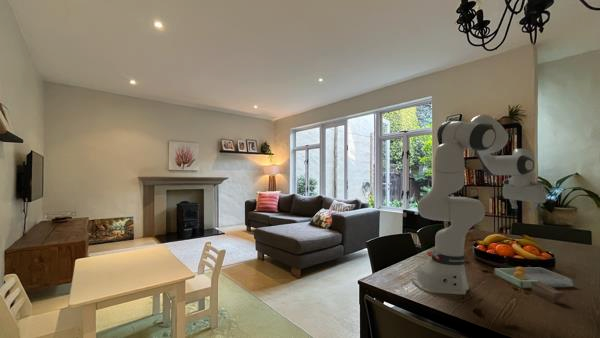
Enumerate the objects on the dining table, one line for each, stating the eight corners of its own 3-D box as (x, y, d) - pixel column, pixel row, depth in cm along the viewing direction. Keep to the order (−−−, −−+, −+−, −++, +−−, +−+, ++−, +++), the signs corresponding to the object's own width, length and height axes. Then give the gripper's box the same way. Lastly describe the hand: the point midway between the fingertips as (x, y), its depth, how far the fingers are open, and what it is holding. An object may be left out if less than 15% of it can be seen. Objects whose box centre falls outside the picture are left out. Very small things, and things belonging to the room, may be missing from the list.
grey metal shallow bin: (540, 287, 111) (540, 280, 111) (511, 274, 126) (511, 267, 126) (572, 286, 112) (572, 279, 112) (540, 273, 127) (540, 267, 127)
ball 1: (523, 278, 119) (515, 272, 120) (519, 275, 123) (511, 269, 124) (529, 272, 119) (521, 266, 120) (525, 269, 122) (517, 263, 124)
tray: (521, 288, 111) (521, 281, 111) (494, 274, 125) (494, 268, 125) (538, 287, 111) (538, 280, 111) (509, 274, 126) (509, 268, 126)
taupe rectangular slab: (554, 305, 98) (554, 293, 98) (531, 292, 108) (531, 281, 108) (563, 305, 98) (563, 293, 98) (540, 292, 107) (540, 281, 108)
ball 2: (511, 273, 121) (521, 271, 119) (516, 282, 118) (527, 280, 117) (511, 272, 118) (521, 269, 116) (516, 281, 116) (527, 278, 114)
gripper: (550, 182, 117) (550, 213, 117) (511, 180, 137) (511, 206, 137) (537, 182, 116) (537, 213, 116) (499, 180, 137) (500, 207, 137)
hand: (523, 209), depth 127 cm, fingers open, 8 cm apart
